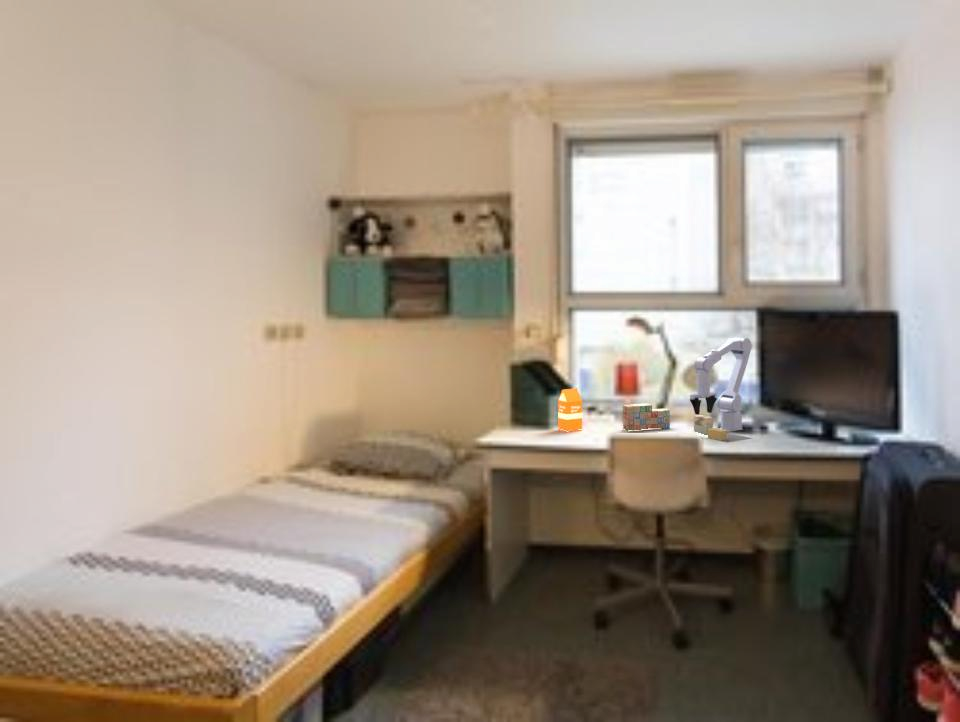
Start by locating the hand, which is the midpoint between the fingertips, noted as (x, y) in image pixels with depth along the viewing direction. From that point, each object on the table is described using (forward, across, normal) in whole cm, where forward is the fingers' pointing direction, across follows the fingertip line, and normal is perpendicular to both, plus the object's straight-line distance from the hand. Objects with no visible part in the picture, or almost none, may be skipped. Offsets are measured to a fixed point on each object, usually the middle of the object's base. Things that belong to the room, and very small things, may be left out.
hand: (703, 413), depth 406 cm
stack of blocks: (+10, -12, +26) cm, 30 cm away
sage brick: (+9, 0, 0) cm, 9 cm away
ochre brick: (+9, -3, -12) cm, 16 cm away
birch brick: (+5, 0, 0) cm, 5 cm away
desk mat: (+10, +2, -8) cm, 13 cm away
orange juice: (+10, -42, +46) cm, 63 cm away
